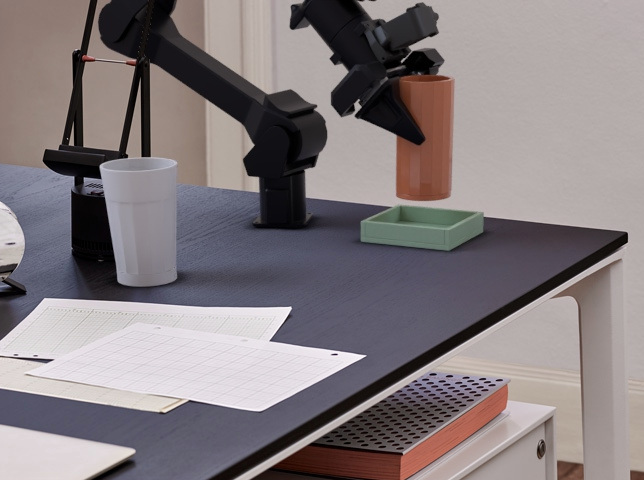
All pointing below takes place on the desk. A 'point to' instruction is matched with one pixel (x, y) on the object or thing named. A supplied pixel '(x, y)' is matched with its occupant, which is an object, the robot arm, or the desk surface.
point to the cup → (142, 218)
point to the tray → (422, 227)
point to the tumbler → (426, 139)
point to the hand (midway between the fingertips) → (435, 138)
